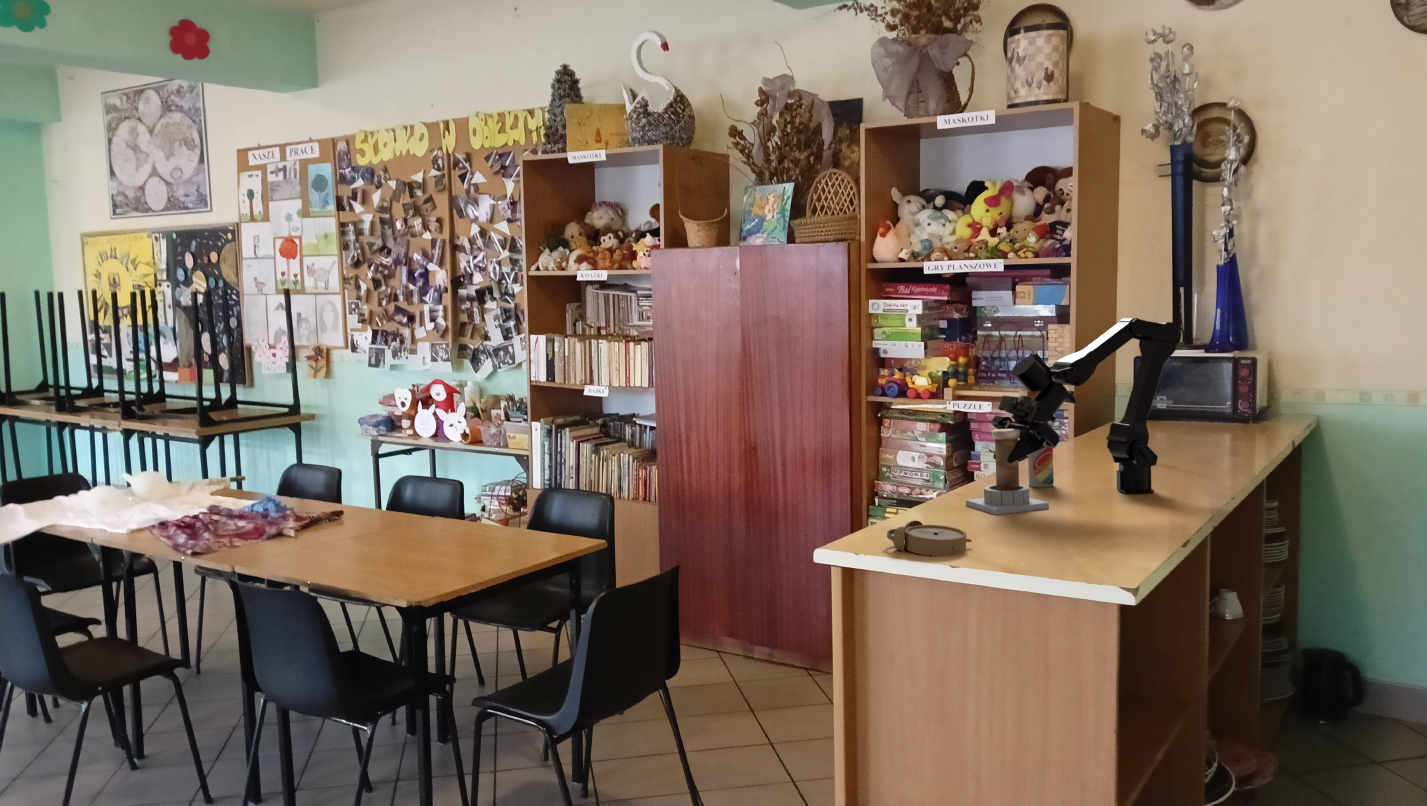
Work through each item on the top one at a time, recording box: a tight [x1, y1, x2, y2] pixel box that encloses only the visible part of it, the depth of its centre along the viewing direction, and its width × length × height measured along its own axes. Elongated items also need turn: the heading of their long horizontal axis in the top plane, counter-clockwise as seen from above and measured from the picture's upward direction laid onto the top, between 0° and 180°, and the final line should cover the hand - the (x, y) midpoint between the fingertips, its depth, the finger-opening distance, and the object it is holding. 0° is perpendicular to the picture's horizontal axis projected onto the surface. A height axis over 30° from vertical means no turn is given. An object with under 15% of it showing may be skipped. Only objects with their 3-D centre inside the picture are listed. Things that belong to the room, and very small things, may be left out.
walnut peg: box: [991, 429, 1020, 491], centre depth 232 cm, size 6×6×13 cm
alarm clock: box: [886, 520, 973, 557], centre depth 199 cm, size 11×5×15 cm
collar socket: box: [965, 483, 1050, 516], centre depth 233 cm, size 13×12×4 cm
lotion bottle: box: [1027, 422, 1055, 488], centre depth 255 cm, size 6×6×20 cm
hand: (1001, 460), depth 232 cm, fingers closed on walnut peg, 5 cm apart
